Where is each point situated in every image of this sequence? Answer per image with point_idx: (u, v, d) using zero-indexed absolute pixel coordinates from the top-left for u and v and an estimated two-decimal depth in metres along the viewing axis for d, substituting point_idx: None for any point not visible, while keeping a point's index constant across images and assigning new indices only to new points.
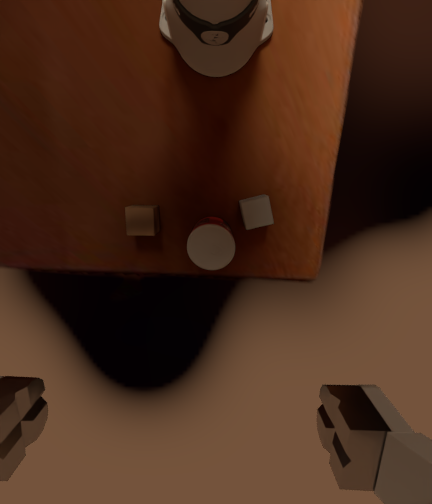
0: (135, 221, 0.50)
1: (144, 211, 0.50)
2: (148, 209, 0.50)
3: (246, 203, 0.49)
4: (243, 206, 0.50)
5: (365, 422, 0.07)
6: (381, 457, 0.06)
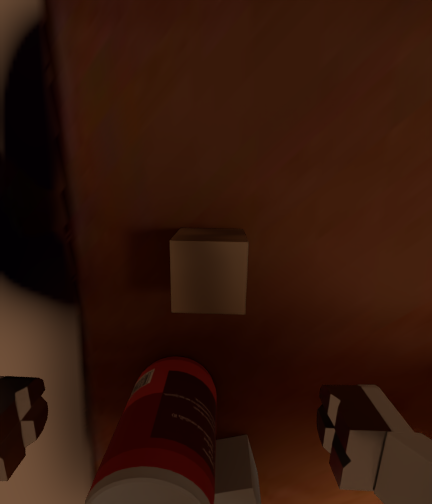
0: (208, 266, 0.18)
1: (235, 292, 0.19)
2: (241, 302, 0.19)
3: (250, 497, 0.23)
4: (243, 492, 0.23)
5: (365, 422, 0.07)
6: (381, 458, 0.06)
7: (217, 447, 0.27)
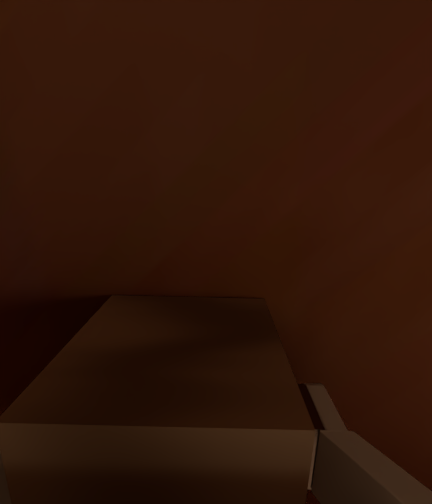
0: None
1: None
2: None
3: None
4: None
5: None
6: (316, 456, 0.06)
7: None
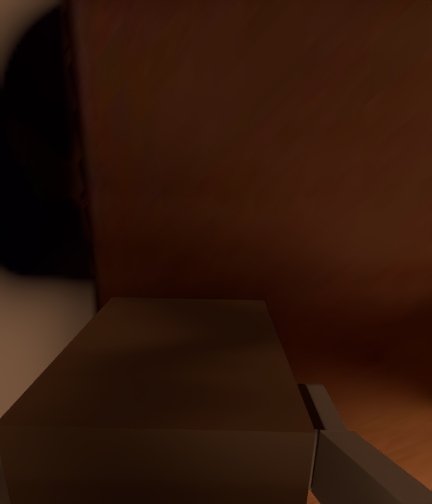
0: None
1: None
2: None
3: None
4: None
5: None
6: (316, 456, 0.06)
7: None
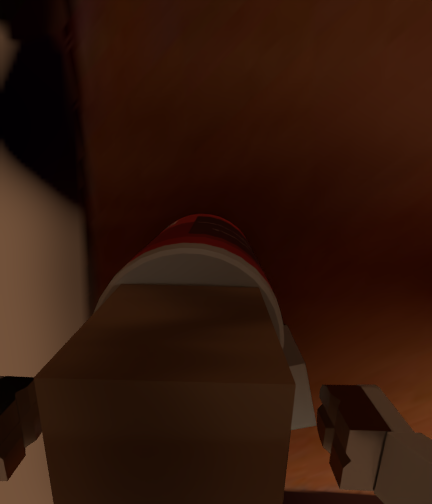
0: (166, 450, 0.06)
1: None
2: None
3: (302, 377, 0.18)
4: (292, 370, 0.18)
5: (365, 422, 0.07)
6: (381, 458, 0.06)
7: None
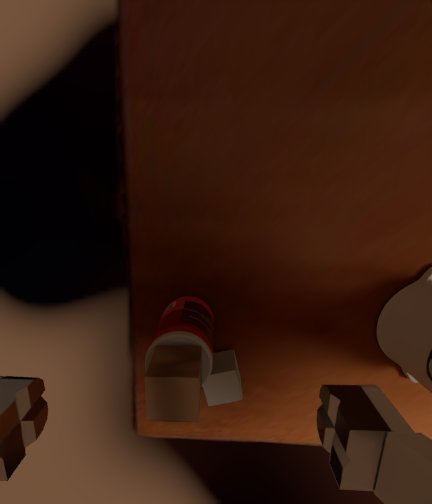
0: (172, 392, 0.26)
1: (191, 408, 0.27)
2: (195, 415, 0.27)
3: (234, 376, 0.39)
4: (230, 373, 0.39)
5: (365, 422, 0.07)
6: (381, 458, 0.06)
7: (214, 356, 0.42)
